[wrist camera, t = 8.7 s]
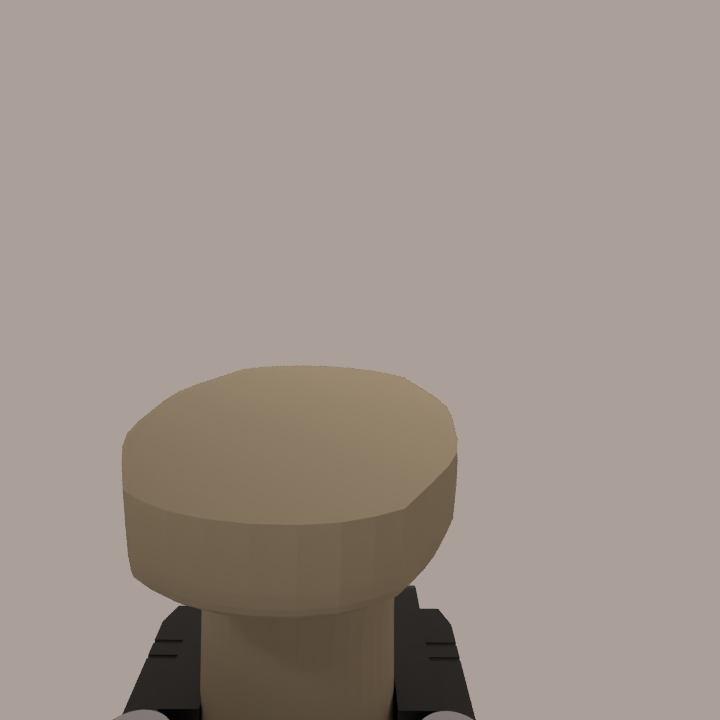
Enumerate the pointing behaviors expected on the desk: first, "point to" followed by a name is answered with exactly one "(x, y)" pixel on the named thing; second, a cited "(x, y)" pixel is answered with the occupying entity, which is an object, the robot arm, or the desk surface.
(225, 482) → the handle
